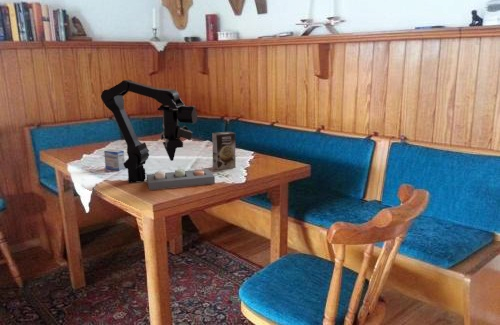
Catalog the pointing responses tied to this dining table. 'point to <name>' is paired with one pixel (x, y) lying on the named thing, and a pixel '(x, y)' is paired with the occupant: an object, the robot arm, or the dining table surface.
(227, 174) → the dining table surface
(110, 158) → the medicine box
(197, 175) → the orange rounded piece
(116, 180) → the dining table surface
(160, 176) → the cream button
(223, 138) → the coffee box
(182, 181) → the button panel
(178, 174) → the sage button
